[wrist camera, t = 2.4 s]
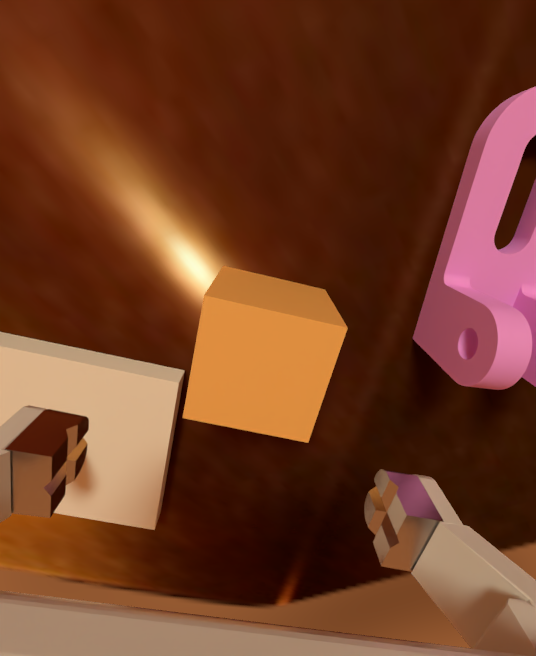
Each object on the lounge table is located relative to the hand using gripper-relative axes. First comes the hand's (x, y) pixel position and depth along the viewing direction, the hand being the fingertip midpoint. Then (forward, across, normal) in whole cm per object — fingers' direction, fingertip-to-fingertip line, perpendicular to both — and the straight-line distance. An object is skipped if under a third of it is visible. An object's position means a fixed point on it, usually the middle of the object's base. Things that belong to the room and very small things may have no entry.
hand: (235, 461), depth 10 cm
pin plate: (+12, +9, +10) cm, 18 cm away
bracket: (+11, -12, -8) cm, 18 cm away
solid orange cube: (+11, -1, 0) cm, 11 cm away
